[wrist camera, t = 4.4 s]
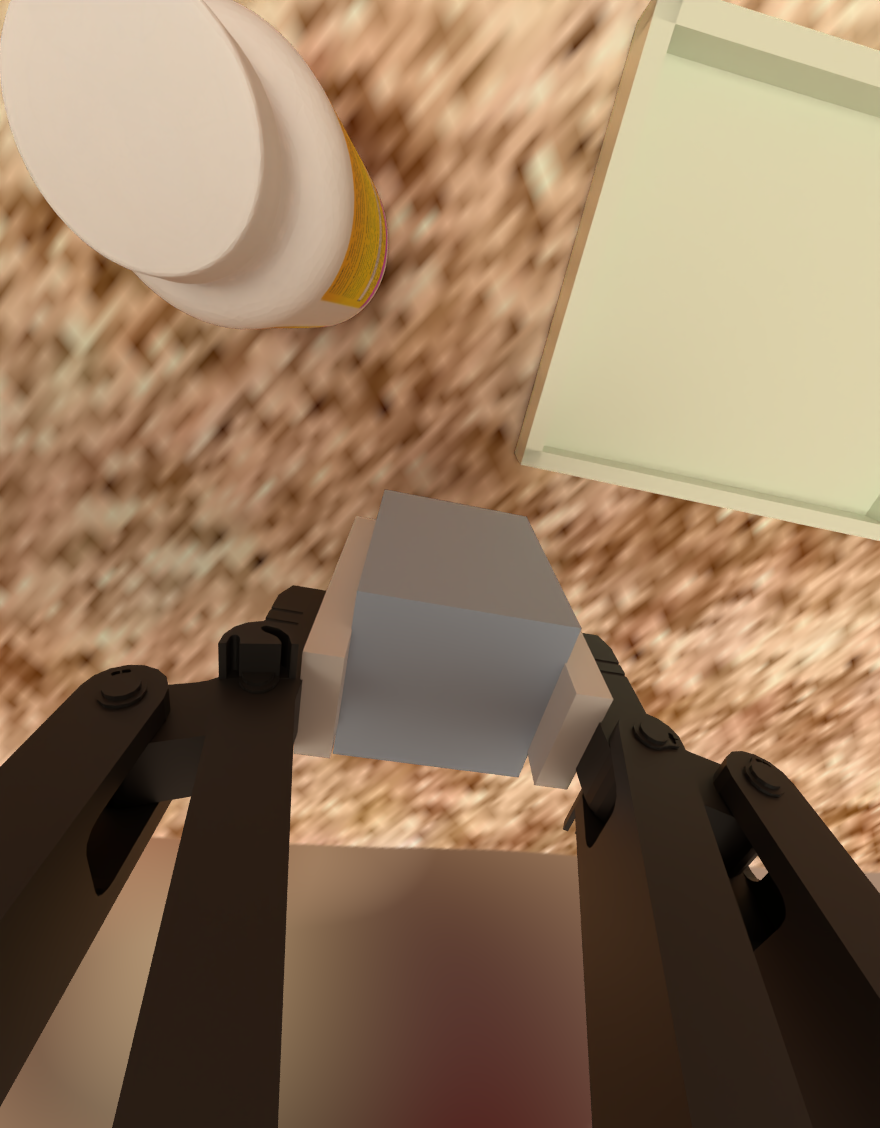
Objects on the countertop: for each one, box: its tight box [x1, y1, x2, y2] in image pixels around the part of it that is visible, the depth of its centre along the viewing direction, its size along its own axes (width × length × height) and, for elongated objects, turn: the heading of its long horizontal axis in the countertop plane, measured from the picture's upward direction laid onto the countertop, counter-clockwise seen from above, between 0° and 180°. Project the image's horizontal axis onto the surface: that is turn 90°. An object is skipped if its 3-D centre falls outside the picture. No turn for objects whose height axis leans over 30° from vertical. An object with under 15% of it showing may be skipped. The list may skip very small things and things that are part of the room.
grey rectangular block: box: [333, 490, 582, 777], centre depth 13 cm, size 4×4×6 cm
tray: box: [515, 0, 880, 541], centre depth 20 cm, size 20×16×2 cm
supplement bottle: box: [0, 0, 388, 329], centre depth 14 cm, size 7×7×13 cm
